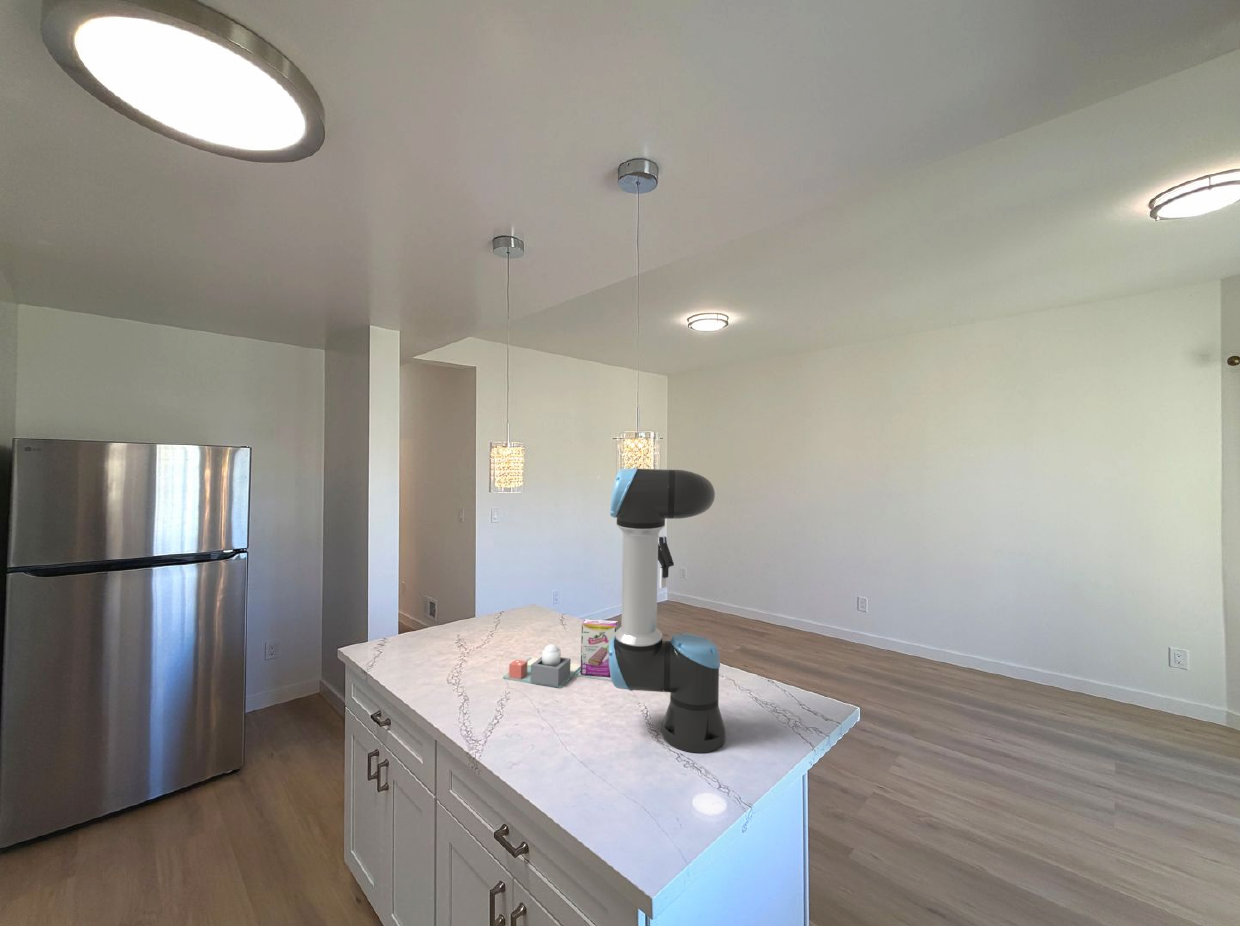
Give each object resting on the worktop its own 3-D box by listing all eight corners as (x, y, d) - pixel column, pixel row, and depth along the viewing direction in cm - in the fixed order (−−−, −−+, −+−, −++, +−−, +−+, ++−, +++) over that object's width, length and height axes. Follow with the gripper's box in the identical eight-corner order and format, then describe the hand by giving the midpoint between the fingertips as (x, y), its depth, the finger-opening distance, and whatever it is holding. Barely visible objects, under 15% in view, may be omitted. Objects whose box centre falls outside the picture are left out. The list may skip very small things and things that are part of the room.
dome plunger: (555, 669, 148) (556, 648, 148) (538, 666, 149) (539, 646, 150) (563, 663, 153) (563, 642, 153) (546, 660, 155) (547, 640, 155)
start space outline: (615, 681, 151) (615, 681, 151) (573, 675, 155) (573, 674, 155) (623, 672, 159) (623, 671, 159) (583, 666, 163) (583, 665, 163)
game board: (559, 688, 145) (559, 669, 145) (502, 679, 151) (502, 660, 151) (581, 667, 162) (582, 649, 162) (529, 659, 168) (530, 642, 168)
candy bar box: (580, 675, 155) (581, 623, 155) (582, 669, 160) (583, 618, 160) (615, 678, 154) (616, 625, 154) (617, 671, 159) (618, 620, 159)
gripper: (685, 522, 161) (684, 588, 160) (629, 517, 178) (628, 576, 178) (670, 524, 156) (669, 592, 155) (614, 518, 173) (613, 579, 172)
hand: (647, 584), depth 166 cm, fingers open, 13 cm apart
